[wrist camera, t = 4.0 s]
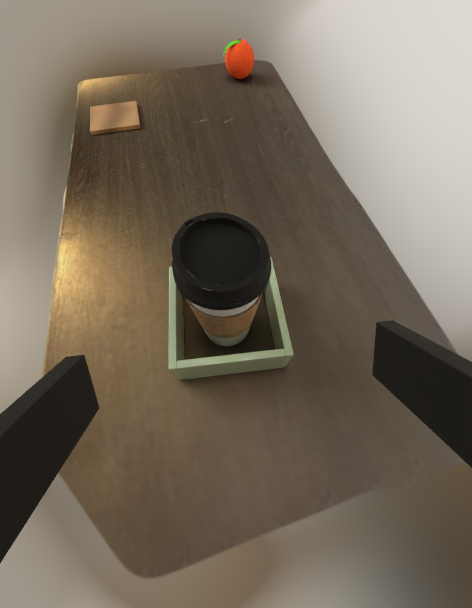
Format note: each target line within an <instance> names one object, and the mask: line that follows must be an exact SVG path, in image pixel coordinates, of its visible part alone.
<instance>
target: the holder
mask: <svg viewBox="0 0 472 608" xmlns="http://www.w3.org/2000/svg"><path fill="white" fill-rule="evenodd" d="M270 258H271V257H270ZM264 295H265V300H266V305H267V310H268V316H269V321H270V326H271V331H272V336H273V341H274V346H275V350H267V351H258V352H249V353H240V354H232V355H223V356H214V357H206V358H197V359H188V360H185V354H184V312H183V295H182V294H181V292H180V291H179V289H178V288H177V286H176V284H175V280H174V276H173V271H172V266H170V267H169V357H168V369H169V370H170V371H171V372H172V374H173V375H174V376H175V377H176V378H177V379H178V380H183V379H192V378H200V377H209V376H217V375H225V374H234V373H242V372H251V371H259V370H268V369H276V368H285V367H286V365H287V364H288V362H289V361H290V359H291V358H292V356H293V350H292V346H291V342H290V337H289V333H288V329H287V324H286V320H285V315H284V311H283V307H282V302H281V298H280V294H279V289H278V285H277V280H276V276H275V272H274V267H273V263H272V258H271V275H270V279H269V282H268V284H267V286H266V288H265V290H264Z"/></svg>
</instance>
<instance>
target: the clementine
mask: <svg viewBox="0 0 472 608" xmlns="http://www.w3.org/2000/svg"><path fill="white" fill-rule="evenodd" d="M226 50H227V52H226V57H225V62H226V67H227V70H228V72H229V73H230V75H231V76H232V77H234V78H236V79H243V78H245V77H247V76H248V75H249V74H250V72H251V71H252V68H253V65H254V54H253V50H252V48H251V46H250V45H249V44H248V43H247V42H246V41H245V40H241V39H239V40H235V41H233V42H231V43H230V44H229V45H228V46H227V47H226V49H225V51H226ZM225 51H224V53H225ZM223 57H224V55H223Z"/></svg>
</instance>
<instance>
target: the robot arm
mask: <svg viewBox="0 0 472 608" xmlns="http://www.w3.org/2000/svg"><path fill="white" fill-rule="evenodd" d="M372 375H373V376H374V377H375V378H376V379H377V380H379V381H380V382H381V383H382V384H383V385H384V386H385V387H386V388H387V389H388V390H389V391H390V392H391V393H392V394H394V395H395V396H396V397H397V398H398V399H399V400H400V401H401V402H402V403H403V404H404V405H405V406H406V407H407V408H409V409H410V410H411V411H412V412H413V413H414V414H415V415H416V416H417V417H418V418H419V419H420V420H421V421H422V422H423V423H425V424H426V425H427V426H428V427H429V428H430V429H431V430H432V431H433V432H434V433H435V434H436V435H437V436H438V437H440V438H441V439H442V440H443V441H444V442H445V443H446V444H447V445H448V446H449V447H450V448H451V449H452V450H453V451H455V452H456V453H457V454H458V455H459V456H460V457H461V458H462V459H463V460H464V461H465V462H466V463H467V464H468V465H469V466H471V467H472V362H471V361H469V360H467V359H465V358H463V357H461V356H459V355H457V354H455V353H454V352H452V351H450V350H448V349H446V348H444V347H442V346H440V345H438V344H436V343H434V342H433V341H431V340H429V339H427V338H425V337H423V336H421V335H419V334H417V333H415V332H413V331H412V330H410V329H408V328H406V327H404V326H402V325H400V324H398V323H396V322H394V321H384V322H377V323H376V336H375V349H374V362H373V374H372ZM98 409H99V405H98V402H97V398H96V395H95V391H94V388H93V384H92V381H91V377H90V374H89V370H88V366H87V363H86V359H85V356H84V355H79V356H70V357H65V358H64V359H63V360H62V361H61V362H60V363H58V364H57V365H56V366H55V367H54V368H53V369H52V370H50V371H49V372H48V373H47V374H46V375H45V376H44V377H42V378H41V379H40V380H39V381H38V382H37V383H36V384H34V385H33V386H32V387H31V388H30V389H29V390H27V391H26V392H25V393H24V394H23V395H22V396H21V397H19V398H18V399H17V400H16V401H15V402H14V403H13V404H11V405H10V406H9V407H8V408H7V409H6V410H5V411H3V412H2V413H1V414H0V563H1V561H2V560H3V558H4V557H5V555H6V553H7V552H8V550H9V549H10V547H11V546H12V544H13V542H14V541H15V539H16V538H17V536H18V535H19V533H20V532H21V530H22V528H23V527H24V525H25V524H26V522H27V521H28V519H29V517H30V516H31V514H32V513H33V511H34V510H35V508H36V506H37V505H38V503H39V502H40V500H41V499H42V497H43V495H44V494H45V492H46V491H47V489H48V488H49V486H50V484H51V483H52V481H53V480H54V478H55V477H56V475H57V474H58V472H59V470H60V469H61V467H62V466H63V464H64V463H65V461H66V460H67V458H68V456H69V455H70V453H71V452H72V450H73V449H74V447H75V445H76V444H77V442H78V441H79V439H80V438H81V436H82V434H83V433H84V431H85V430H86V428H87V427H88V425H89V424H90V422H91V420H92V419H93V417H94V416H95V414H96V413H97V411H98Z"/></svg>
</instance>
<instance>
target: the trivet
mask: <svg viewBox="0 0 472 608" xmlns="http://www.w3.org/2000/svg"><path fill="white" fill-rule="evenodd" d="M139 128H141V127H140V120H139V114H138V108H137V103H136V101H131V102H123V103H116V104H108V105H100V106H92V107H90V132H91V135H97V134H104V133H111V132H118V131H125V130H132V129H139Z"/></svg>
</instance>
